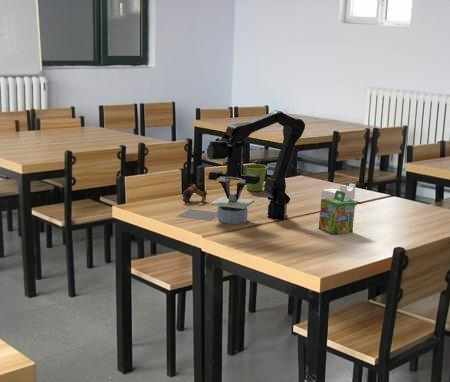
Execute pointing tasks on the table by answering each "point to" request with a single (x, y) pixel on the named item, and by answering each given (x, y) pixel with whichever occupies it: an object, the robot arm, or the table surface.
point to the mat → (198, 214)
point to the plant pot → (259, 171)
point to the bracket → (348, 192)
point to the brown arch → (196, 189)
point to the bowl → (231, 215)
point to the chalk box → (337, 214)
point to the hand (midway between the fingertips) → (233, 199)
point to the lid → (232, 202)
